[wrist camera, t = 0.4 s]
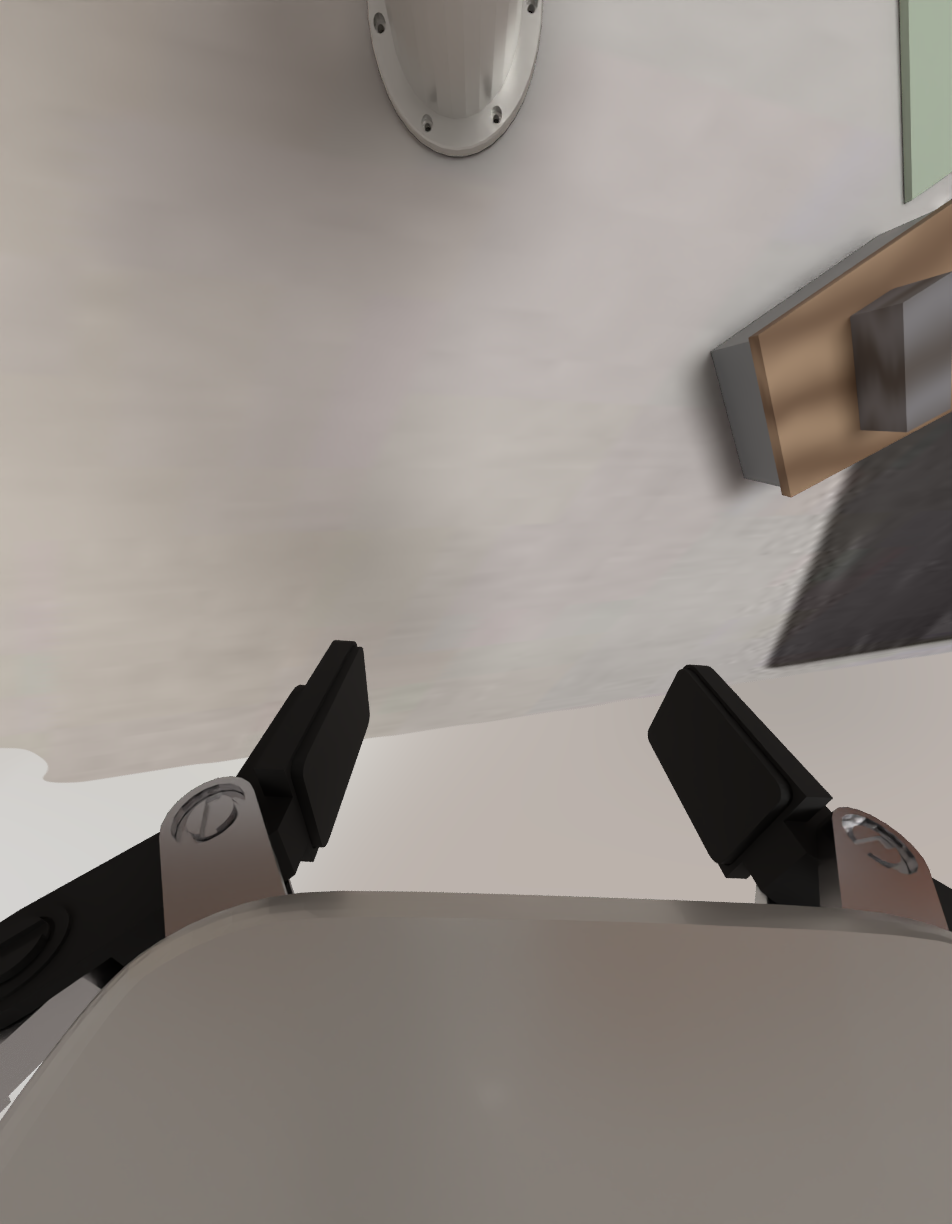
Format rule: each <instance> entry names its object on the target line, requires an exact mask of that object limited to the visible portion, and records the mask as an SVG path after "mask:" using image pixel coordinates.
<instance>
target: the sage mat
mask: <svg viewBox="0 0 952 1224" xmlns="http://www.w3.org/2000/svg"><path fill="white" fill-rule="evenodd" d="M899 8H900V46H901V83H902V121H903V159H904V197H905V203H907V202H909V201H911V200H913V199H914V198H915V197H917V196H918V195H920V194H921V193H923V192H924V191H925V190H927V189H928V188H930V187H931V186H933V185H934V184H935V183H937V182H938V181H940V180H941V179H943V178H944V177H945V176H947V175H948V174H950V173H951V172H952V0H899Z"/></svg>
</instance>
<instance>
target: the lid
mask: <svg viewBox="0 0 952 1224" xmlns="http://www.w3.org/2000/svg"><path fill="white" fill-rule="evenodd" d="M748 339H749V344H750V348H751V353H752V358H753V362H754V367H755V372H756V376H757V381H758V385H759V390H760V395H761V399H762V404H763V409H764V413H765V418H766V423H767V427H768V432H769V436H770V441H771V446H772V450H773V455H774V460H775V464H776V469H777V474H778V478H779V483H780V487H781V492H782V495H784V496H788V497H793V496H795V495H796V494H798V493H800V492H802V491H804V490H806V489H808V488H810V487H811V486H813V485H815V484H817V483H819V482H821V481H823V480H824V479H826V478H828V477H830V476H832V475H834V474H836V473H838V472H839V471H841V470H843V469H845V468H847V467H849V466H851V465H852V464H854V463H856V462H858V461H860V460H862V459H864V458H866V457H867V456H869V455H871V454H873V453H875V452H877V451H879V450H880V449H882V448H884V447H886V446H888V445H890V444H892V443H894V442H895V441H897V440H899V439H901V438H903V437H905V436H907V435H908V434H910V433H912V432H914V431H916V430H918V429H920V428H922V427H923V426H925V425H927V424H929V423H931V422H933V421H935V420H936V419H938V418H940V417H942V416H944V415H946V414H948V413H950V412H951V411H952V199H951V200H950V201H948V202H947V203H945V204H944V205H942V206H941V207H939V208H938V209H936V210H935V211H933V212H932V213H931V214H929V215H928V216H926V217H925V218H923V219H922V220H920V221H919V222H917V223H916V224H914V225H913V226H911V227H910V228H909V229H907V230H906V231H904V232H903V233H901V234H900V235H898V236H897V237H895V238H894V239H892V240H891V241H889V242H888V243H887V244H885V245H884V246H882V247H881V248H879V249H878V250H876V251H875V252H873V253H872V254H870V255H869V256H867V257H866V258H865V259H863V260H862V261H860V262H859V263H857V264H856V265H854V266H853V267H851V268H850V269H848V270H847V271H845V272H844V273H843V274H841V275H840V276H838V277H837V278H835V279H834V280H832V281H831V282H829V283H828V284H826V285H825V286H823V287H822V288H821V289H819V290H818V291H816V292H815V293H813V294H812V295H810V296H809V297H807V298H806V299H804V300H803V301H801V302H800V303H799V304H797V305H796V306H794V307H793V308H791V309H790V310H788V311H787V312H785V313H784V314H782V315H781V316H779V317H778V318H777V319H775V320H774V321H772V322H771V323H769V324H768V325H766V326H765V327H763V328H762V329H760V330H759V331H757V332H756V333H755V334H753V335H752V336H750V337H749V338H748Z"/></svg>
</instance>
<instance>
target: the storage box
mask: <svg viewBox="0 0 952 1224" xmlns="http://www.w3.org/2000/svg"><path fill="white" fill-rule="evenodd" d="M932 212H933V211H932ZM932 212H930V213H928V214H926V215H923V216H921V217H919V218H917V219H914V220H912V221H910V222H907V223H905V224H903V225H901V226H898V227H896V228H894V229H892V230H889V231H887V232H885V233H883V234H880V235H878V236H877V237H875V238H874V239H873V240H871V241H870V242H868V243H867V244H865V245H864V246H862V247H861V248H860V249H858V250H857V251H855V252H854V253H852V254H851V255H849V256H848V257H847V258H845V259H844V260H842V261H841V262H839V263H838V264H836V265H835V266H834V267H832V268H831V269H829V270H828V271H826V272H825V273H823V274H822V275H821V276H819V277H818V278H816V279H815V280H813V281H812V282H810V283H809V284H808V285H806V286H805V287H803V288H802V289H800V290H799V291H797V292H796V293H795V294H793V295H792V296H790V297H789V298H787V299H786V300H784V301H783V302H781V303H780V304H779V305H777V306H776V307H774V308H773V309H771V310H770V311H768V312H767V313H766V314H764V315H763V316H761V317H760V318H758V319H757V320H755V321H754V322H753V323H751V324H750V325H748V326H747V327H745V328H744V329H742V330H741V331H740V332H738V333H737V334H735V335H734V336H732V337H731V338H729V339H728V340H727V341H725V342H724V343H722V344H721V345H719V346H718V347H716V348H715V349H714V350H712V351H711V354H712V358H713V362H714V365H715V369H716V373H717V377H718V380H719V384H720V388H721V392H722V396H723V399H724V403H725V407H726V411H727V415H728V418H729V422H730V426H731V430H732V433H733V437H734V441H735V445H736V449H737V452H738V456H739V460H740V464H741V467H742V471H743V475H744V478H747V479H751V480H755V481H759V482H763V483H767V484H771V485H775V486H780V483H779V478H778V474H777V469H776V464H775V460H774V455H773V450H772V446H771V441H770V436H769V432H768V427H767V423H766V418H765V413H764V409H763V404H762V399H761V395H760V390H759V385H758V381H757V376H756V372H755V367H754V362H753V358H752V353H751V348H750V344H749V339H748V338H749V337H750V336H752V335H753V334H755V333H756V332H757V331H759V330H760V329H762V328H763V327H765V326H766V325H768V324H769V323H771V322H772V321H774V320H775V319H777V318H778V317H779V316H781V315H782V314H784V313H785V312H787V311H788V310H790V309H791V308H793V307H794V306H796V305H797V304H799V303H800V302H801V301H803V300H804V299H806V298H807V297H809V296H810V295H812V294H813V293H815V292H816V291H818V290H819V289H821V288H822V287H823V286H825V285H826V284H828V283H829V282H831V281H832V280H834V279H835V278H837V277H838V276H840V275H841V274H843V273H844V272H845V271H847V270H848V269H850V268H851V267H853V266H854V265H856V264H857V263H859V262H860V261H862V260H863V259H865V258H866V257H867V256H869V255H870V254H872V253H873V252H875V251H876V250H878V249H879V248H881V247H882V246H884V245H885V244H887V243H888V242H889V241H891V240H892V239H894V238H895V237H897V236H898V235H900V234H901V233H903V232H904V231H906V230H907V229H909V228H910V227H911V226H913V225H914V224H916V223H917V222H919V221H920V220H922V219H923V218H925V217H926V216H928V215H929V214H931V213H932Z"/></svg>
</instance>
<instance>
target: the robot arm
mask: <svg viewBox="0 0 952 1224" xmlns="http://www.w3.org/2000/svg"><path fill="white" fill-rule="evenodd" d="M367 7H368V21H369V27H370V33H371V39H372V45H373V50H374V53H375V57H376V61H377V65H378V69H379V72H380V75H381V77H382V80H383V83H384V86H385V89H386V92H387V94H388V96H389V98H390V100H391V102H392V104H393V106H394V108H395V110H396V112H397V114H398V115H399V117H400V118H401V120H402V121H403V122H404V124H405V125H406V127H407V128H408V130H409V131H410V132H411V133H412V134H413V135H414V136H415V137H416V138H417V139H418V140H419V141H420V142H421V143H423V144H425V145H426V146H428V147H429V148H431V149H432V150H434V151H436V152H439V153H442V154H445V155H448V156H467V155H471V154H475V153H478V152H480V151H482V150H483V149H485V148H487V147H488V146H490V145H492V144H493V143H494V142H495V141H496V140H497V139H498V138H499V137H500V136H501V135H502V134H503V133H504V132H505V131H506V129H507V128H508V127H509V125H510V124H511V122H512V121H513V120H514V118H515V117H516V115H517V113H518V111H519V109H520V107H521V105H522V103H523V101H524V99H525V97H526V94H527V91H528V88H529V85H530V82H531V79H532V76H533V72H534V67H535V63H536V58H537V53H538V48H539V41H540V34H541V27H542V13H543V0H367ZM530 10H531V11H532V12H533V13H532V14H531V13H529V12H528V11H530ZM381 30H384V32H383V33H381V34H380V31H381ZM494 119H498V121H499V123H497V124H496V123H494V122H493V120H494ZM427 127H430V128H431V131H429V132H426V131H425V130H426V128H427ZM369 717H370V712H369V702H368V692H367V682H366V672H365V662H364V652H363V648H362V647H357V644H356V642H354V641H341V640H334V641H333V642H332V643H331V645H330V647H329V648H328V650H327V652H326V653H325V655H324V656H323V658H322V660H321V661H320V663H319V664H318V666H317V668H316V669H315V671H314V672H313V674H312V676H311V677H310V679H309V680H308V682H307V684H306V685H298V686H297V687H295V689H294V690H293V691H292V692H291V694H290V695H289V697H288V698H287V700H286V701H285V703H284V705H283V706H282V708H281V709H280V711H279V712H278V714H277V715H276V717H275V718H274V720H273V721H272V723H271V724H270V726H269V727H268V729H267V730H266V732H265V733H264V735H263V736H262V738H261V740H260V741H259V743H258V744H257V746H256V747H255V749H254V750H253V752H252V753H251V755H250V756H249V758H248V759H247V761H246V762H245V764H244V765H243V767H242V768H241V770H240V771H239V773H238V775H237V776H236V777H232V776H229V777H222V778H217V779H214V780H211V781H209V782H206V783H203V784H202V785H200V786H198V787H196V788H194V789H193V790H191V791H190V792H188V793H187V794H186V795H185V796H184V797H182V798H181V799H180V800H179V801H177V803H176V804H175V805H174V806H173V807H172V808H171V810H170V811H169V812H168V813H167V815H166V817H165V819H164V821H163V823H162V825H161V829H160V832H159V833H157V834H155V835H154V836H152V837H150V838H148V839H146V840H144V841H143V842H141V843H139V844H137V845H136V846H134V847H132V848H130V849H128V850H127V851H125V852H123V853H121V854H120V855H118V856H116V857H114V858H112V859H110V860H109V861H107V862H105V863H103V864H101V865H100V866H98V867H96V868H94V869H92V870H91V871H89V872H87V873H85V874H83V875H82V876H80V877H78V878H76V879H74V880H73V881H71V882H69V883H67V884H65V885H64V886H62V887H60V888H58V889H56V890H55V891H53V892H51V893H49V894H47V895H46V896H44V897H42V898H40V899H38V900H37V901H35V902H33V903H31V904H29V905H28V906H26V907H24V908H22V909H20V910H19V911H17V912H16V913H14V914H13V915H11V916H9V917H8V918H6V919H5V920H3V921H2V922H0V1112H1V1111H2V1110H3V1109H4V1108H5V1107H6V1106H7V1105H8V1104H9V1103H10V1102H11V1101H10V1098H9V1097H8V1096H9V1095H10V1093H11V1092H13V1091H14V1089H16V1088H17V1087H18V1086H19V1084H21V1083H22V1082H23V1081H24V1080H25V1079H26V1077H28V1075H30V1074H31V1072H33V1071H34V1070H35V1069H36V1068H37V1066H38V1065H40V1064H41V1062H42V1064H41V1065H40V1066H39V1068H38V1069H37V1071H36V1072H35V1073H34V1075H33V1076H32V1078H31V1079H30V1080H29V1082H28V1083H27V1084H26V1086H25V1087H24V1088H23V1090H22V1091H21V1092H20V1094H19V1095H18V1096H17V1098H16V1099H15V1101H14V1102H13V1104H12V1105H11V1106H10V1108H9V1109H8V1111H7V1112H6V1114H5V1115H4V1117H3V1118H2V1119H1V1121H0V1224H952V889H951V888H949V887H947V886H945V885H944V884H942V883H940V882H939V881H937V880H935V879H933V878H932V877H931V874H930V871H929V868H928V866H927V864H926V862H925V860H924V859H923V857H922V856H921V855H920V854H919V852H918V851H917V850H916V849H915V848H914V847H913V846H912V845H911V844H910V843H909V842H908V841H907V840H906V839H905V838H904V837H903V836H902V835H901V834H899V833H898V832H897V831H895V830H894V829H892V828H891V827H890V826H889V825H887V824H886V823H884V822H882V821H880V820H879V819H877V818H875V817H873V816H872V815H869V814H867V813H865V812H862V811H860V810H857V809H853V808H849V807H839V808H837V809H836V810H834V811H833V812H831V811H830V810H829V809H828V808H827V807H826V806H825V805H826V804H827V803H828V802H829V801H830V800H831V799H833V798H832V797H831V795H830V794H829V793H828V792H827V791H826V790H825V789H824V788H823V787H822V786H821V785H820V784H819V783H818V781H817V780H816V779H815V778H814V777H813V776H812V775H811V774H810V773H809V772H808V771H807V770H806V769H805V768H804V767H803V765H802V764H801V763H800V762H799V761H798V760H797V759H796V758H795V757H794V756H793V755H792V753H791V752H790V751H789V750H787V748H786V747H785V746H784V745H783V744H782V743H781V742H780V741H779V740H778V738H777V737H776V736H775V735H774V734H773V733H772V732H771V731H770V730H769V729H768V728H767V727H766V725H765V724H764V723H763V722H762V721H761V720H760V719H759V718H758V717H757V716H756V715H755V714H754V713H753V712H752V711H751V709H750V708H749V707H748V706H747V705H746V704H745V703H744V702H743V701H742V700H741V699H740V698H739V696H738V695H737V694H736V693H735V692H734V691H733V690H732V689H731V688H730V687H729V686H728V685H727V684H726V682H725V681H724V680H723V679H722V678H721V677H720V676H719V675H718V674H717V673H716V672H715V671H714V670H713V669H712V668H711V667H709V666H702V665H686V666H685V667H684V668H683V669H680V670H679V671H678V672H677V674H676V676H675V678H674V680H673V682H672V684H671V686H670V688H669V690H668V692H667V694H666V696H665V698H664V700H663V702H662V704H661V706H660V708H659V710H658V712H657V714H656V716H655V718H654V720H653V722H652V724H651V726H650V728H649V730H648V739H649V742H650V744H651V746H652V748H653V750H654V751H655V753H656V755H657V757H658V759H659V761H660V763H661V765H662V766H663V769H664V771H665V772H666V774H667V776H668V778H669V780H670V782H671V784H672V786H673V788H674V789H675V791H676V793H677V795H678V797H679V799H680V801H681V803H682V805H683V806H684V808H685V810H686V812H687V814H688V816H689V818H690V819H691V822H692V823H693V825H694V827H695V829H696V831H697V833H698V835H699V837H700V838H701V840H702V842H703V844H704V846H705V848H706V850H707V852H708V854H709V855H710V857H711V858H712V859H713V860H714V861H715V862H716V863H718V864H719V866H720V868H721V870H722V872H723V874H724V875H725V877H726V878H741V879H743V878H744V879H747V878H748V877H749V876H750V875H751V876H752V877H753V879H754V880H755V882H756V884H757V885H756V896H755V897H756V898H755V904H753V903H729V902H705V901H679V900H654V899H627V898H599V897H571V896H569V897H568V896H542V895H510V894H477V893H444V892H394V891H393V892H391V891H330V892H308V893H297V894H294V891H293V888H292V885H291V882H290V878H291V877H292V876H294V875H295V873H296V871H297V868H298V866H299V863H300V861H305V862H308V861H309V862H313V861H314V859H315V856H316V854H317V851H318V848H319V847H325V846H326V845H327V843H328V840H329V838H330V835H331V832H332V829H333V826H334V823H335V820H336V817H337V814H338V811H339V809H340V805H341V803H342V800H343V797H344V794H345V791H346V788H347V785H348V782H349V779H350V776H351V774H352V771H353V768H354V765H355V762H356V759H357V756H358V753H359V750H360V747H361V744H362V741H363V739H364V736H365V733H366V730H367V727H368V723H369Z"/></svg>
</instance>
